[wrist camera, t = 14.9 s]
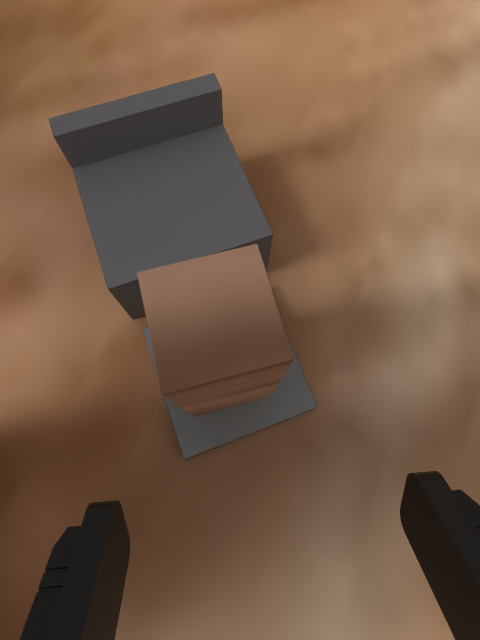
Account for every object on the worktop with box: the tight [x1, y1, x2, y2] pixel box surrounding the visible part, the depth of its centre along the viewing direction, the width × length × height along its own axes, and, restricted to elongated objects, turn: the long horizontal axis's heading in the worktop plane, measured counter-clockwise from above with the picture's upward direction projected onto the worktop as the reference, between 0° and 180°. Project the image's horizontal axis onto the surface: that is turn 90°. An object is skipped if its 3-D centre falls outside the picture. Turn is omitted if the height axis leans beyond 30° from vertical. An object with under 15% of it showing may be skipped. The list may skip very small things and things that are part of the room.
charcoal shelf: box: [49, 73, 273, 319], centre depth 23 cm, size 9×9×7 cm
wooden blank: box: [137, 244, 294, 417], centre depth 19 cm, size 4×4×10 cm
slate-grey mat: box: [143, 327, 317, 459], centre depth 24 cm, size 8×8×1 cm
